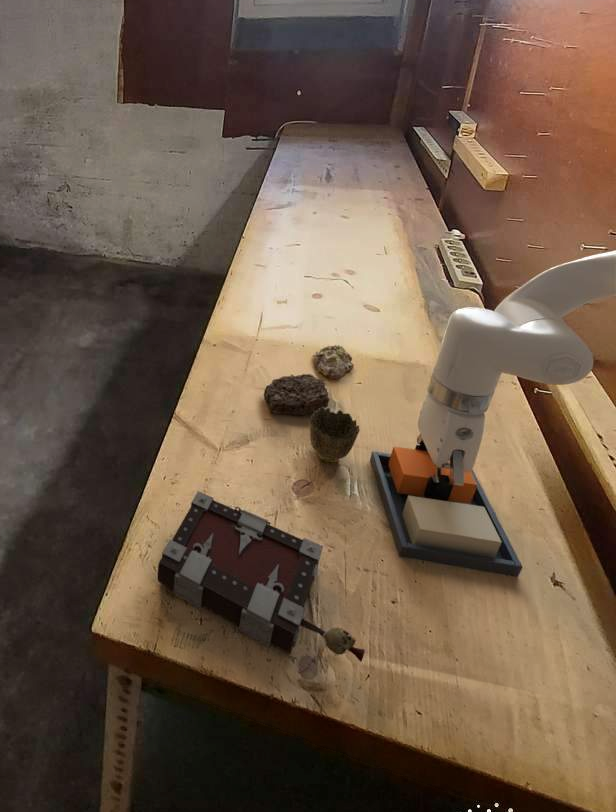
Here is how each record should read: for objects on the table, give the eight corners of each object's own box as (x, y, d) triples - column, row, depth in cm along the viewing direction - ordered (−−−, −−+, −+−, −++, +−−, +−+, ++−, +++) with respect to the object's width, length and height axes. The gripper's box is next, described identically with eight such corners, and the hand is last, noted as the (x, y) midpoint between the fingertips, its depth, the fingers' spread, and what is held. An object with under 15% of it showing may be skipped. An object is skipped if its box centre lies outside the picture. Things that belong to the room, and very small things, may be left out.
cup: (351, 449, 98) (360, 413, 94) (350, 479, 92) (359, 442, 88) (305, 438, 101) (312, 402, 97) (302, 466, 95) (309, 430, 91)
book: (196, 511, 87) (198, 487, 85) (373, 593, 75) (381, 567, 72) (154, 587, 76) (156, 562, 74) (353, 697, 64) (361, 671, 62)
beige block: (476, 525, 83) (484, 506, 81) (493, 561, 77) (501, 542, 76) (401, 514, 85) (408, 495, 83) (413, 548, 80) (420, 529, 78)
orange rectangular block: (456, 474, 90) (462, 455, 88) (470, 504, 85) (477, 484, 83) (388, 464, 92) (393, 446, 90) (397, 493, 87) (403, 474, 85)
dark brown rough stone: (323, 392, 112) (328, 371, 110) (327, 425, 103) (332, 403, 101) (263, 382, 115) (266, 362, 113) (262, 414, 107) (266, 393, 104)
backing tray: (465, 476, 92) (470, 464, 91) (516, 579, 76) (522, 567, 75) (368, 462, 95) (372, 451, 94) (398, 559, 79) (402, 546, 78)
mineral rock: (314, 339, 125) (354, 339, 120) (317, 356, 126) (356, 356, 122) (307, 366, 116) (349, 368, 112) (310, 384, 118) (352, 386, 113)
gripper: (516, 435, 72) (476, 531, 80) (466, 358, 87) (437, 446, 95) (451, 427, 74) (418, 522, 82) (413, 353, 89) (388, 440, 97)
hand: (428, 480), depth 88 cm, fingers closed on orange rectangular block, 6 cm apart
